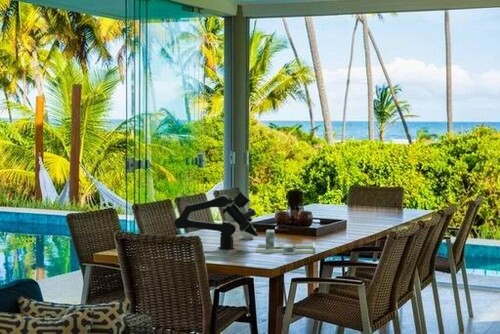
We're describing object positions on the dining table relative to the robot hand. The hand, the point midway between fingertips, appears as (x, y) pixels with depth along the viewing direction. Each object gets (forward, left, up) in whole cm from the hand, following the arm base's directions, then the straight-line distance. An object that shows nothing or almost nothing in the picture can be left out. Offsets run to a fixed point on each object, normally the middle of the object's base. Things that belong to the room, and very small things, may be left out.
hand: (257, 235), depth 455 cm
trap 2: (+20, -5, -7) cm, 22 cm away
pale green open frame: (+10, -12, -7) cm, 17 cm away
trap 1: (+1, -21, -7) cm, 22 cm away
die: (+24, +30, -7) cm, 39 cm away
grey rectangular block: (+8, -9, -7) cm, 14 cm away
